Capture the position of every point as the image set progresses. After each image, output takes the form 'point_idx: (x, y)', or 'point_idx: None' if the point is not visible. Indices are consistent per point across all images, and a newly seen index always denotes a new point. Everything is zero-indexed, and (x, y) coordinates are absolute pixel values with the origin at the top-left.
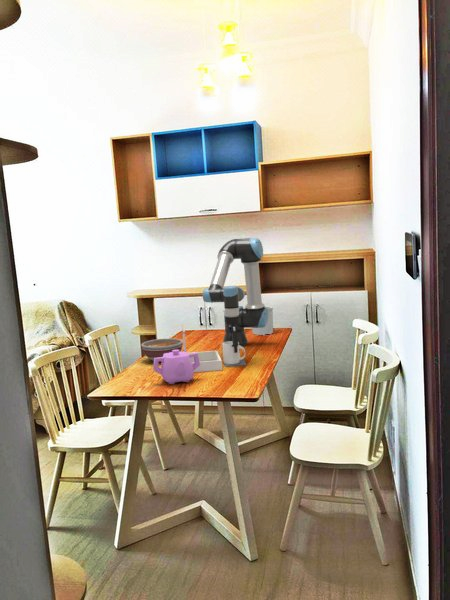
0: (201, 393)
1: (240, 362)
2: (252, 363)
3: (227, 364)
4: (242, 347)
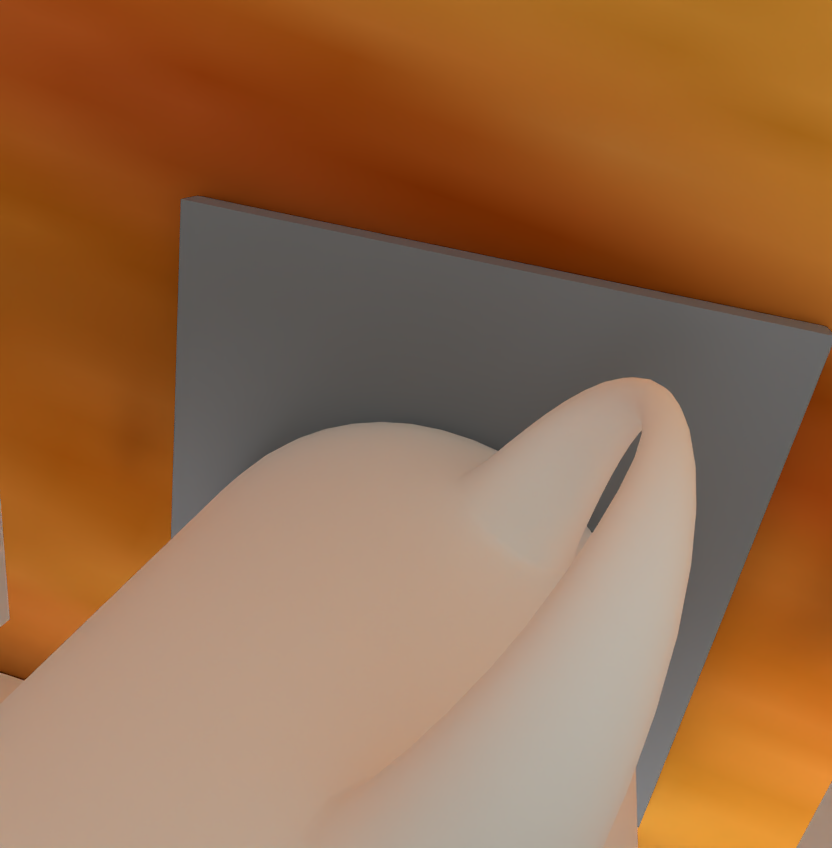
0: None
1: (495, 412)
2: (691, 51)
3: None
4: (631, 746)
